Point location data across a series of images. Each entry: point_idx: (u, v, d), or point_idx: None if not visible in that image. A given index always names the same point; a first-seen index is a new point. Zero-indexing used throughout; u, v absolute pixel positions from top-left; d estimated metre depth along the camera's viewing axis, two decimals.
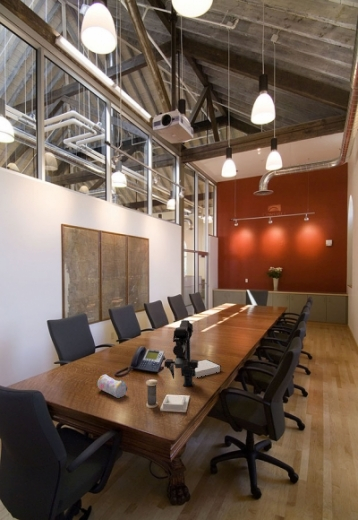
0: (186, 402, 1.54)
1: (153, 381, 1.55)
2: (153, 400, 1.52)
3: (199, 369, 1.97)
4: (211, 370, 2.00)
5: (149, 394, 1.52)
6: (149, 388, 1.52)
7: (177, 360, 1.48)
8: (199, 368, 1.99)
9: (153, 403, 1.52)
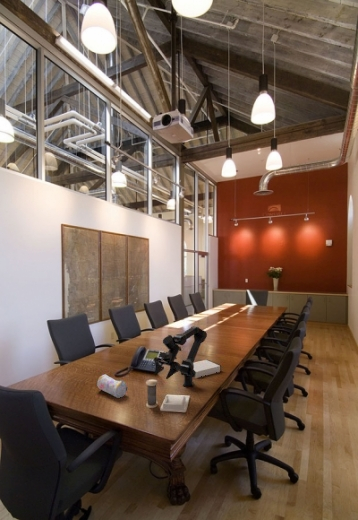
0: (186, 402, 1.54)
1: (153, 381, 1.55)
2: (153, 400, 1.52)
3: (199, 369, 1.97)
4: (211, 370, 2.00)
5: (149, 394, 1.52)
6: (149, 388, 1.52)
7: None
8: (199, 368, 1.99)
9: (153, 403, 1.52)
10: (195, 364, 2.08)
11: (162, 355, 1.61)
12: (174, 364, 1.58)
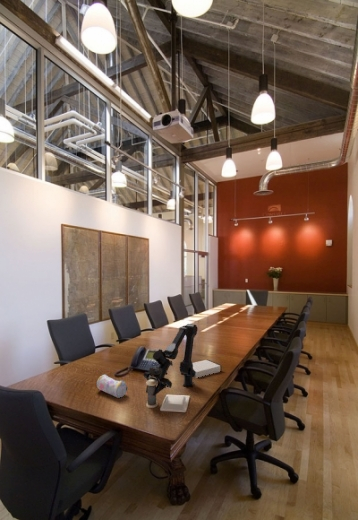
0: (186, 402, 1.54)
1: (153, 381, 1.55)
2: (153, 400, 1.52)
3: (200, 369, 1.97)
4: (212, 370, 2.00)
5: (149, 394, 1.52)
6: (149, 388, 1.52)
7: (153, 368, 1.58)
8: (200, 368, 1.99)
9: (153, 403, 1.52)
10: (195, 364, 2.08)
11: (152, 371, 1.54)
12: (164, 381, 1.51)
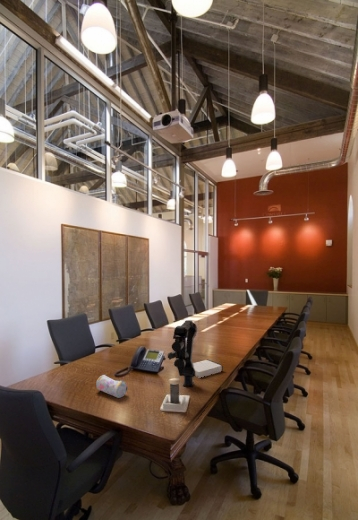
0: (186, 402, 1.54)
1: (175, 379, 1.53)
2: (177, 398, 1.51)
3: (201, 369, 1.97)
4: (213, 370, 1.99)
5: (174, 393, 1.50)
6: (174, 387, 1.50)
7: (172, 352, 1.70)
8: (201, 368, 1.99)
9: (178, 401, 1.51)
10: (196, 364, 2.07)
11: None
12: (174, 363, 1.60)
